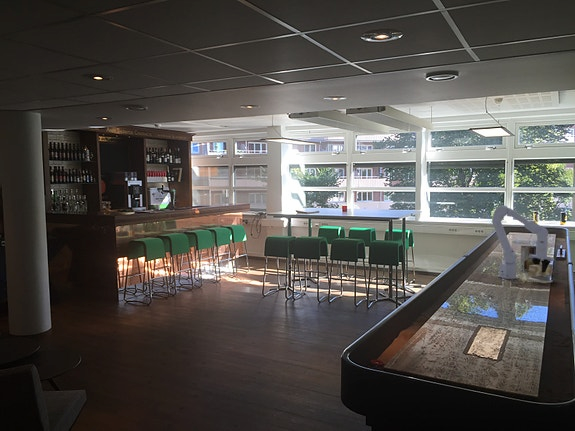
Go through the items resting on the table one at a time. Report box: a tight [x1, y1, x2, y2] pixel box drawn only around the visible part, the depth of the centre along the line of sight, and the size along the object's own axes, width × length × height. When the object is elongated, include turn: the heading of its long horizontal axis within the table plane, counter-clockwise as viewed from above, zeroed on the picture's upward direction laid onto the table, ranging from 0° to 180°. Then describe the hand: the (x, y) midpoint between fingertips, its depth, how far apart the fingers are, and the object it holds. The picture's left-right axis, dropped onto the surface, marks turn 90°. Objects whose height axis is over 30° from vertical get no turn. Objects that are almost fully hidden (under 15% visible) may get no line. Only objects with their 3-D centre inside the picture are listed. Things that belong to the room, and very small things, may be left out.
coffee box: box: [519, 245, 536, 272], centre depth 299 cm, size 9×6×16 cm
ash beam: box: [528, 263, 553, 277], centre depth 267 cm, size 16×4×6 cm, turn 116°
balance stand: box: [527, 275, 553, 284], centre depth 267 cm, size 8×10×3 cm
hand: (540, 271), depth 267 cm, fingers closed on ash beam, 3 cm apart
